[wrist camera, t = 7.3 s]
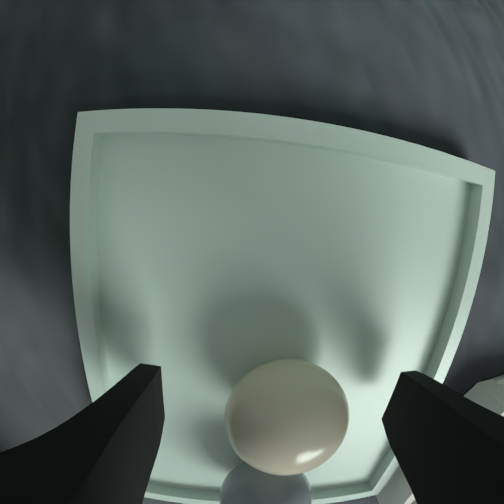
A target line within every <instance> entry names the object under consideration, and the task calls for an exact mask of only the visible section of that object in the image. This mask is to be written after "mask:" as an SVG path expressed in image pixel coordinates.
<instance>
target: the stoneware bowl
mask: <svg viewBox="0 0 504 504" xmlns="http://www.w3.org/2000/svg"><path fill="white" fill-rule="evenodd" d="M464 397H466V398H468V399H470V400H471V401H473V402H475V403H477V404H479V405H481V406H483V407H485V408H487V409H489V410H491V411H493V412H495V413H497V414H499V415H502V416H504V374H503V375H500V376H498V377H495V378H493V379H490V380H486V381H482V382H478V383H477V384H476V385H475V386H474V387H473V388H471V389H470V390H469V391H468V392H467V393H466V394H465V395H464ZM375 496H376V498H377V501H378V503H379V504H417V503H416V500H415V498H414V495H413V493H412V490H411V488H410V486H409V484H408V482H407V480H406V478H405V476H404V474H403V472H402V470H401V468H400V466H399V465H398V467H397V468H396V470H395V471H394V473H393V474H392V476H391V477H390V479H389V480H388V482H387V483H386V485H385V486H384V487H383V489H382V490H381V492H380V493H379V494H378V495H375Z"/></svg>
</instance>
